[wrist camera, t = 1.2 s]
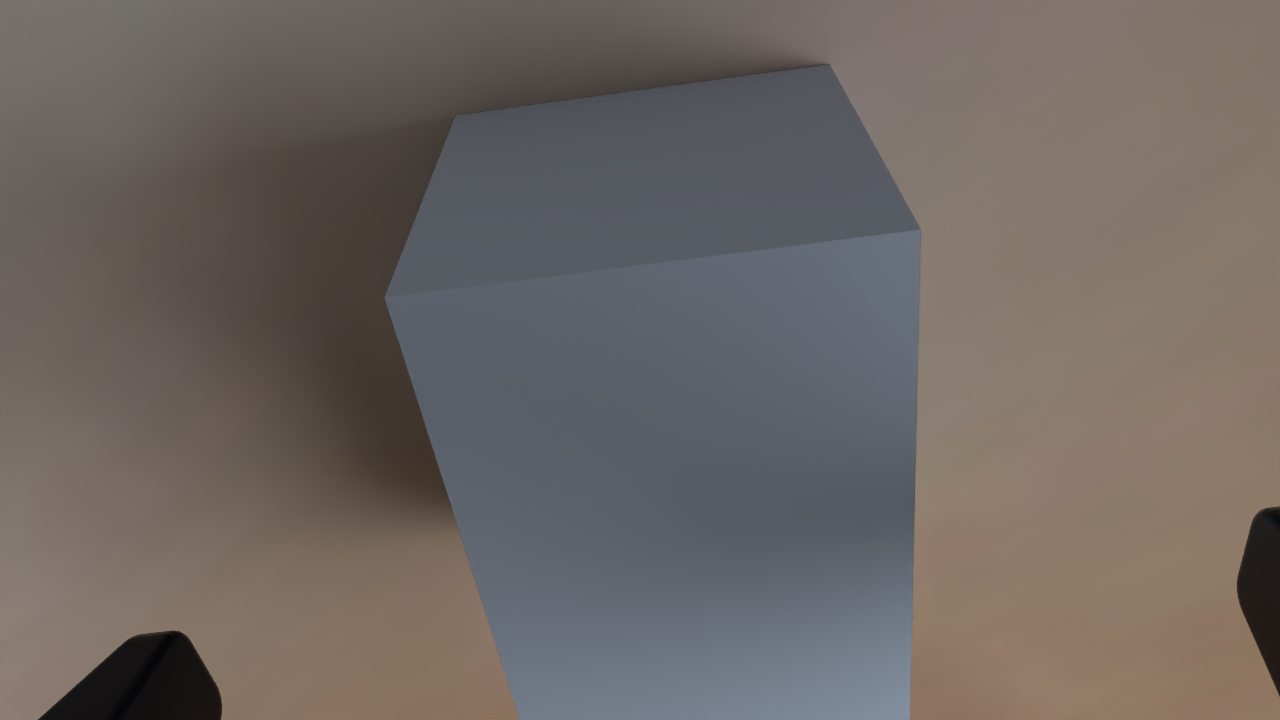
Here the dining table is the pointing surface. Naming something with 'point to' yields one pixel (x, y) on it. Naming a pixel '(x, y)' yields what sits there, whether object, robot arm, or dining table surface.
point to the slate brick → (676, 397)
